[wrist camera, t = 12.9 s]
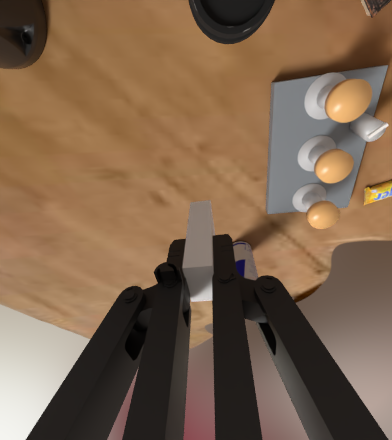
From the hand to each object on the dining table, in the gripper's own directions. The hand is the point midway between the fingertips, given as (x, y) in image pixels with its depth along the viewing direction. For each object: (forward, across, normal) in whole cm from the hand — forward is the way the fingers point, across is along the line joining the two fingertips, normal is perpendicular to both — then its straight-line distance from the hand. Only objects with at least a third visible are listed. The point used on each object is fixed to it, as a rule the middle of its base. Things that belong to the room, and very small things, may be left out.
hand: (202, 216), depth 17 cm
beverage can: (+28, +5, -29) cm, 40 cm away
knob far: (+25, +19, -15) cm, 35 cm away
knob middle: (+26, +19, -6) cm, 33 cm away
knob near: (+26, +20, +3) cm, 32 cm away
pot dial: (+26, +25, -2) cm, 36 cm away
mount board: (+28, +19, -6) cm, 34 cm away
